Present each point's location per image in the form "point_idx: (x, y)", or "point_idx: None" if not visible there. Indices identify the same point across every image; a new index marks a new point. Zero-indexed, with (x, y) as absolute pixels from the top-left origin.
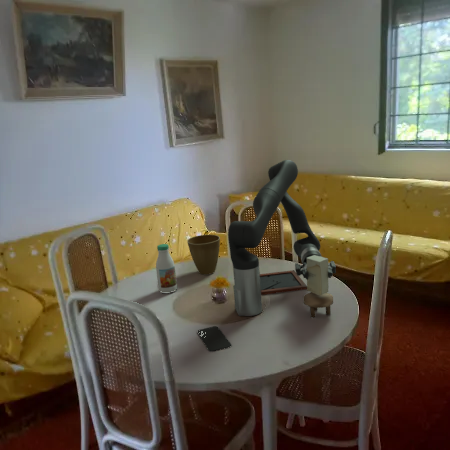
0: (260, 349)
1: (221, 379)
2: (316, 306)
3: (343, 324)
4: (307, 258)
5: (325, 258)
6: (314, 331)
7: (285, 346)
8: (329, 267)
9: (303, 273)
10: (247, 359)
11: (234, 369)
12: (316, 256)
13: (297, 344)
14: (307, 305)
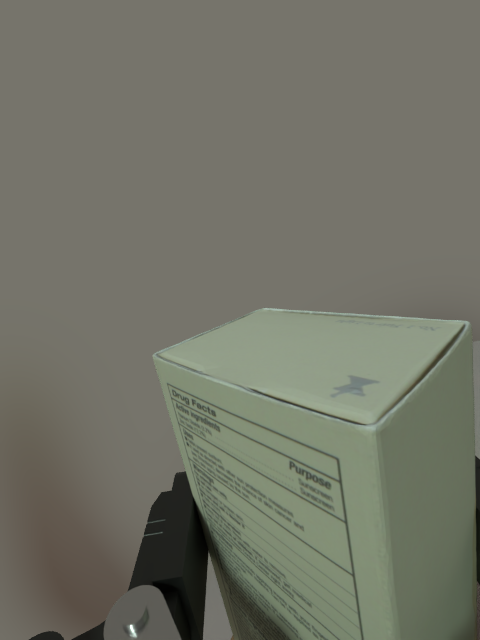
0: (475, 410)
1: (477, 341)
2: None
3: (210, 591)
4: (444, 323)
5: (181, 353)
6: None
7: None
8: (131, 606)
9: (477, 458)
10: (476, 379)
11: (476, 358)
12: (309, 373)
13: None
14: None
